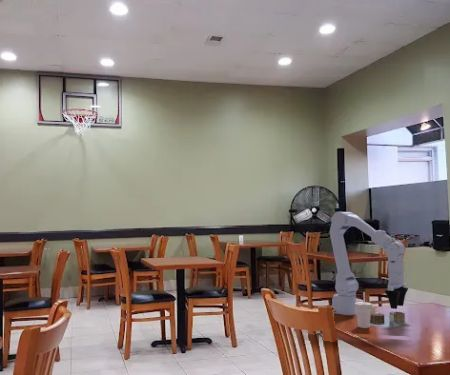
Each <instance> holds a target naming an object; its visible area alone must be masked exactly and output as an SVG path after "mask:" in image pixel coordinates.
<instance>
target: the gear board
mask: <svg viewBox="0 0 450 375" xmlns="http://www.w3.org/2000/svg"><path fill="white" fill-rule="evenodd" d="M374 313H375V315H379V313H380V312H374ZM384 320H385V323H381V324H379V323H372V322H370V326H373V327H381V328H387V329H388V328H389V329H397V328H398V327H400V326H401V325H403V324H405V323H407V322H409V321H410V319H406V318H405V321H404V322H396V321H394V315H393V314H390V313H389V315H388V316H384Z"/></svg>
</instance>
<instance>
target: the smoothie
mask: <svg viewBox="0 0 450 375" xmlns="http://www.w3.org/2000/svg"><path fill="white" fill-rule="evenodd" d="M362 294H363V301H356V303H355V305H354V306H355V307H356V314H355V315H356V318H357V319H356V320H357V327H359V328H360V329H361V328H362V329H368V328H370V327H371V325H370V317H371V313H372V308H373V303H372V302H368V301H366V292H365V291H363V293H362Z"/></svg>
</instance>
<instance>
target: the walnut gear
mask: <svg viewBox="0 0 450 375" xmlns="http://www.w3.org/2000/svg"><path fill="white" fill-rule="evenodd" d="M375 313H376V312H371V317H370V322H372V323H379V324H381V323H385V320H384V317H385V313H381V312H378V313H379V315H375Z"/></svg>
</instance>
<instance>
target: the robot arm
mask: <svg viewBox="0 0 450 375" xmlns="http://www.w3.org/2000/svg"><path fill="white" fill-rule="evenodd" d="M330 222H331V224H330V228H329V237H330V241H331V246H332V250H333V255H334V256H333V257H334V260H335V265H336V272H337V274H336V276H335V286H334V288H335V291H336V293H335V294H333V296H332V300H331V303H332V304H331V305H332V307H333V308H334V309H335V311H334V313H333V314H338V315H344V316H356V315H357V314H356V307H355V306H354V305H355V303H356V302H357V291H358V290H359V281H357V279H356V276H355V273H353V272H352V271H351V266H350V262H349V257H348V252H347V247H346V246H347V245H346V242H345V238H344V234H345V233H346V232H347V230H348V229H349V228H351V227H355V228H357V230H360V231H361V232H363V233H365V234H366V235H367V236H369V237H370V238H371V242H373V244H375V245H376V246H378V247H380V248H381V249H382V250H384V252H385V253H386V255H387V272H388V273H387V274H388V283H387V288H386V289H384V293H385V295H386V297H387V299H388V302H389V306H390V309H394V310H397V309H398V306H399V307H404V304H405V297H406V295H407V292H408V291H409V288H408V283H406V281H405V271H404V270H405V269H404V253H405V252H406V246H405V244H404V243H403V242H402V241H400V240H396V238H395V237H391V236H390V235H388V234H387V231H385V230H383V229H382V230H381V229H378V230H376V228H375V229H374V227H372V225H370V224H368V223H366V221H365V220H363V219H362V218H360V216H359V215H357V214H354V213H353V212H352V211H336V212H335V213H334V214H333V215H332V216H331V218H330ZM332 307H331V308H332Z"/></svg>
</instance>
